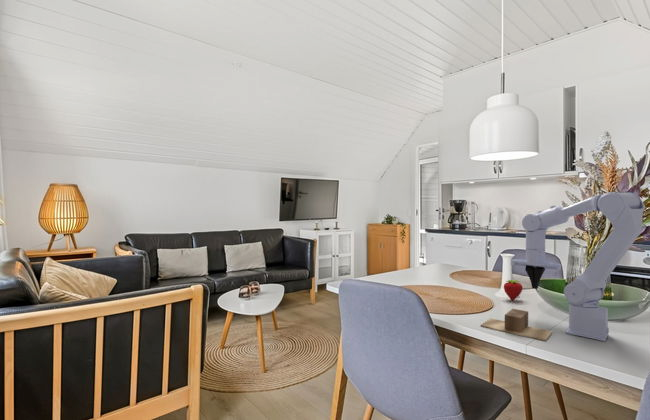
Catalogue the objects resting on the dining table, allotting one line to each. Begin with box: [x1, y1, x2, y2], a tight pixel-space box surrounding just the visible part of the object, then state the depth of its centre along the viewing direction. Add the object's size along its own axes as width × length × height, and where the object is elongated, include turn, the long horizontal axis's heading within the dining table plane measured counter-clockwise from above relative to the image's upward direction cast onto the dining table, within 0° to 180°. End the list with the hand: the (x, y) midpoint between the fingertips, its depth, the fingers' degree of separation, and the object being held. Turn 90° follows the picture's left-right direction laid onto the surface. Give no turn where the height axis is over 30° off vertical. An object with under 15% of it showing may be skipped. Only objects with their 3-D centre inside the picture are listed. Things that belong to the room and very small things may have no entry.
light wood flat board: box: [480, 317, 553, 342], centre depth 107 cm, size 18×9×1 cm, turn 46°
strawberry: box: [503, 278, 523, 301], centre depth 139 cm, size 6×8×10 cm
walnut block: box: [504, 308, 529, 333], centre depth 108 cm, size 4×4×9 cm
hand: (535, 288), depth 118 cm, fingers closed
